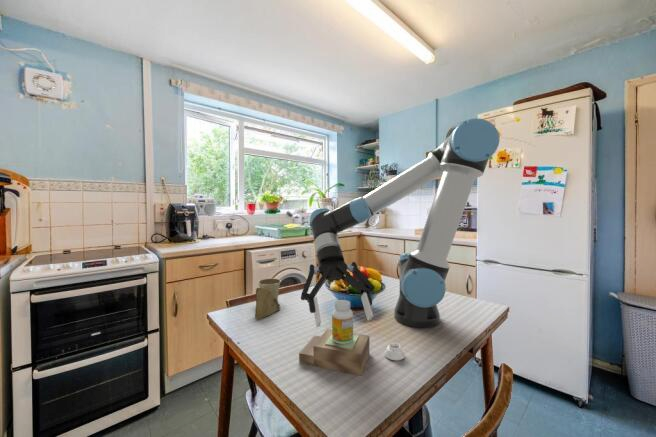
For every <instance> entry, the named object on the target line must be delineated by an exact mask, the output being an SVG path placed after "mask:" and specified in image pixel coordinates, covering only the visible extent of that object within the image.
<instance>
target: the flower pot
mask: <svg viewBox="0 0 656 437" xmlns="http://www.w3.org/2000/svg"><path fill="white" fill-rule="evenodd" d="M281 282H282V279H279V278H263V279H260V280H258V281H257V283H258V286H259V287H258V288H265V289H267V290H269V291H271V293H272V294H273V296H274V297H275V298H276V299H277V301H278V299H279V298H278V297H279V292H280V286H281Z"/></svg>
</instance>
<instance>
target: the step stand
mask: <svg viewBox="0 0 656 437" xmlns="http://www.w3.org/2000/svg"><path fill="white" fill-rule="evenodd" d="M369 356H370V335H368V334H362V333H355V332H353V340H352V341H351V342H350V343H347V344H339V343H336V342H334V341H333V339H332V328H331V329H330V328H327V329H325V331H324V332H323V333H322V335H321V336H320V335H313V336H312V338H311V339H310V340H308V342H307V343H306V344H305V345H304V347H303V348H302V349H301V350H300V351H299V353H298V363H299V364H304V365H309V366H313V367H318V368H323V369H328V370H333V371H336V372H342V373H346V374H352V375H357V376H361V377H362V374H363V371H364V369H365V366H366V364H367V361H368V358H369Z"/></svg>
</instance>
